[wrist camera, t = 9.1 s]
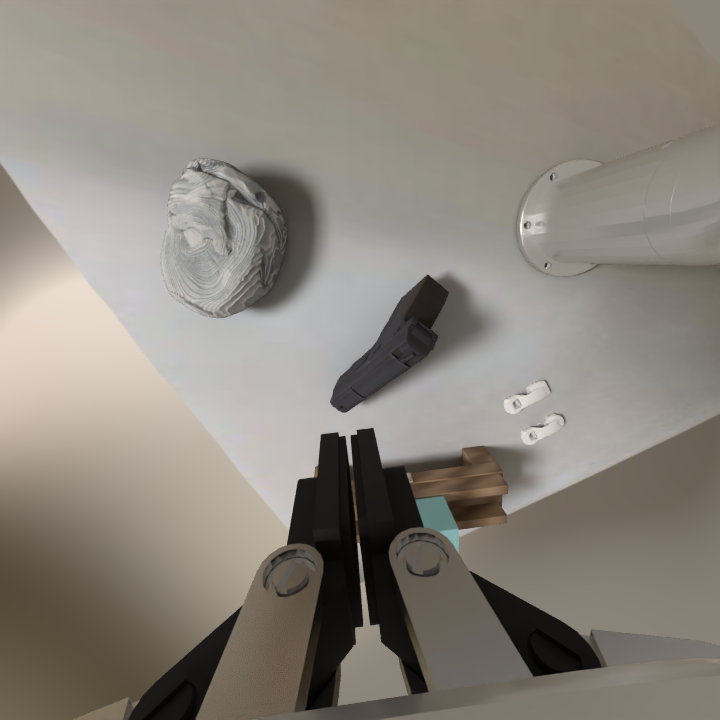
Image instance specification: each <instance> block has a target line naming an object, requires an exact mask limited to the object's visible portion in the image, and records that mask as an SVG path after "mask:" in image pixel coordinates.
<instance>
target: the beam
mask: <svg viewBox="0 0 720 720" xmlns="http://www.w3.org/2000/svg"><path fill="white" fill-rule="evenodd" d="M317 475H318V467H315V475H314V477H317ZM407 476H408V479H409V482H410V485H411V489H412V492H413V495H414V498H415V500H417V499H425V498H432V497H440V496H444V498H445V500H446V502H447V505H448V507H449V509H450V511H451V514H452V516H453V518H454V520H455V522H456V525H457V527H458V530H460V529H468V528H475V527H483V526H490V525H497V524H505V523H507V515H506V513H505V512H504V510H503V509H502V494H508V485H507V483H506V482H505V481H504V479H503V478H502V477H503V471H502V470H501V468H500V467H499V466H498V465H497V463H496V462H495V461H494V459H493V458H492V457H491V456H490V454H489V453H488V452H487V451H486V449H485V448H484V447H483V446H478V447H470V448H462V466H460V467H453V468H445V469H437V470H429V471H421V472H413V473H410V472H409V473H407ZM351 485H352V493H353V501H354V509H355V520H356V533H357V543H360V539H359V530H358V520H357V509H356V497H355V484H354V480H351Z"/></svg>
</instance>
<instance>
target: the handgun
mask: <svg viewBox="0 0 720 720" xmlns="http://www.w3.org/2000/svg"><path fill="white" fill-rule="evenodd" d="M448 293H449V292H448V291H447V290H446V289H445V288H443V287H442V286H441V285H440V284H439V283H437V282H436V281H435V280H434V279H433V278H431V277H430V276H429V275H427V276H425V277H424V278H423V279H422V280H421V281H420V282H419V283H418V284H417V285H416V286H414V287H413V288H412V289H411V290H410V291H409V292H408V293H407V294H406V295H405V296H404V297H402V298H401V300H400V302H399V303H398V305H397V306H396V308H395V310H394V312H393V313H392V315H391V317H390V319H389V321H388V323H387V324H386V325H385V327H384V329H383V331H382V332H381V334H380V336H379V338H378V340H377V342H376V343H375V344H374V346H373V347H372V348H371V349H370V350H369V351H368V352H367V353H365V354H364V355H363V356H362V357H361V358H360V359H359V360H357V361H356V362H355V363H354V364H353V365H352V366H351V367H350V369H349V370H347V371H346V372H345V373H344V374H343V375H342V376H340V378H339V380H338V381H337V383H336V385H335V388H334V390H333V395H332V398H331V401H330V403H331V405H332V406H333V407H335V408H336V409H337V410H338V411H341V412H342V413H345V412H347V411H349V410H350V409H352V408H353V407H355V406H356V405H358V404H359V403H360V402H362V401H363V400H365V399H366V398H367V397H369V396H370V395H372V394H373V393H375V392H376V391H378V390H379V389H380V388H382V387H383V386H385V385H386V384H388V383H389V382H390V381H392V380H393V379H395V378H396V377H398V376H400V375H401V374H403V373H404V372H406V371H407V370H409V369H410V368H411V367H412V366H414V365H415V364H416V363H418V362H419V361H421V360H422V359H424V358H425V357H426V356H427V355H428V354H429V353H430V351H432V350H433V348H434V346H435V342H436V341H437V338H438V335H437V334H435V333H434V332H433V331H432V330H430V329H431V327H432V326H433V324H434V322H435V320H436V318H437V317H438V315H439V313H440V311H441V309H442V307H443V305H444V303H445V301H446V298H447V296H448Z"/></svg>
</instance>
